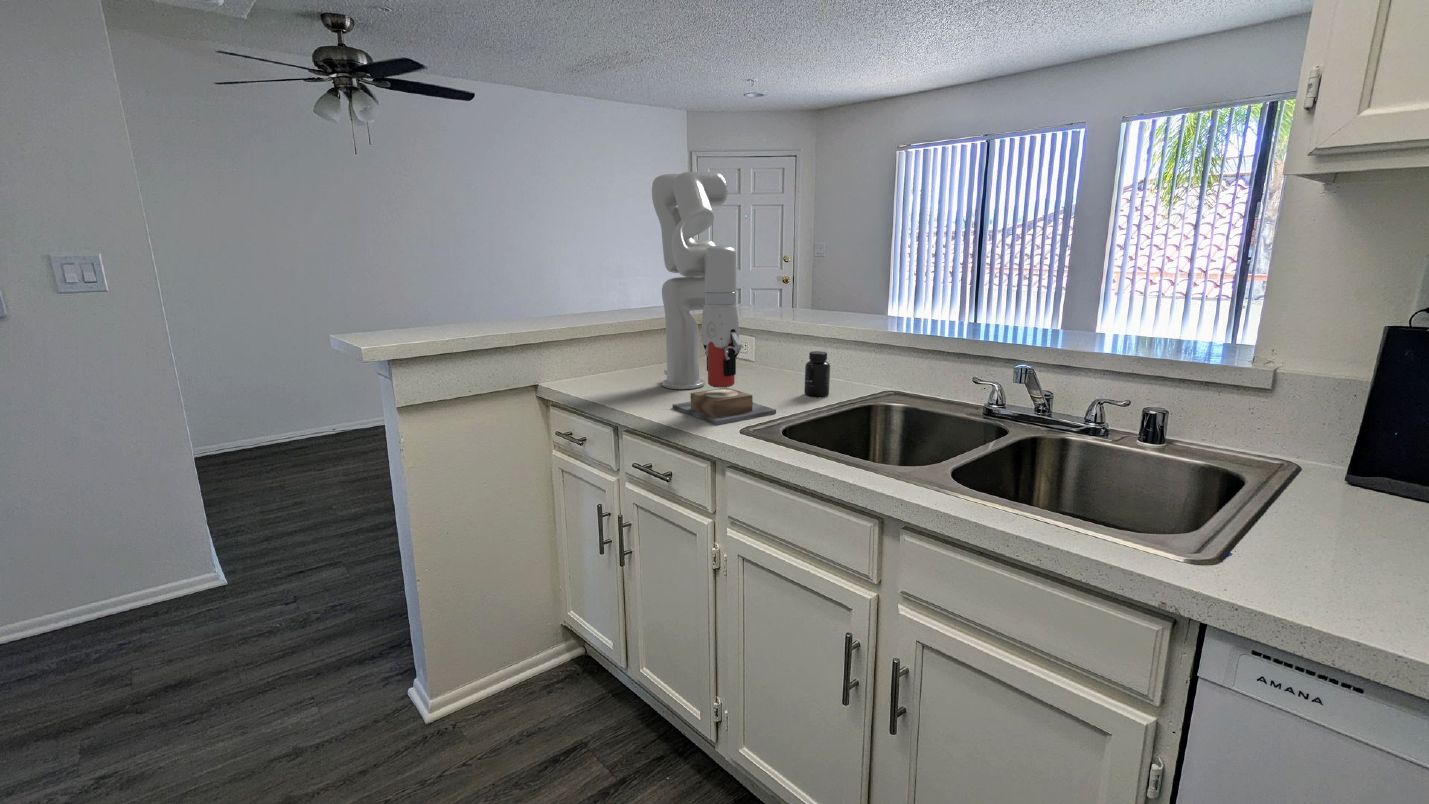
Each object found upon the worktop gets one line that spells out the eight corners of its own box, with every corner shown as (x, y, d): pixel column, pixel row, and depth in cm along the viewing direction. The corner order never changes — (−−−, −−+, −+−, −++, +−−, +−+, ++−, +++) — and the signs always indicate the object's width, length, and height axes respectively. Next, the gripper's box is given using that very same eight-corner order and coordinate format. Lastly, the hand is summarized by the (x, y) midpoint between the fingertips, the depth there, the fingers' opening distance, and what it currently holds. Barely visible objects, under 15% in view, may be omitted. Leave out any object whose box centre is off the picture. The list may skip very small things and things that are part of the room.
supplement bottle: (801, 396, 184) (802, 353, 181) (807, 391, 190) (808, 349, 187) (826, 398, 181) (827, 355, 179) (831, 393, 188) (833, 351, 185)
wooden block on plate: (672, 408, 173) (671, 388, 171) (729, 398, 183) (729, 379, 181) (716, 425, 157) (716, 403, 155) (776, 413, 166) (776, 393, 165)
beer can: (732, 388, 161) (732, 339, 159) (705, 387, 163) (704, 338, 160) (736, 383, 168) (736, 335, 165) (710, 382, 169) (710, 334, 166)
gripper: (687, 298, 165) (689, 369, 169) (728, 303, 151) (729, 380, 155) (713, 296, 169) (713, 366, 173) (755, 301, 155) (754, 376, 160)
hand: (721, 372), depth 164 cm, fingers closed on beer can, 6 cm apart
